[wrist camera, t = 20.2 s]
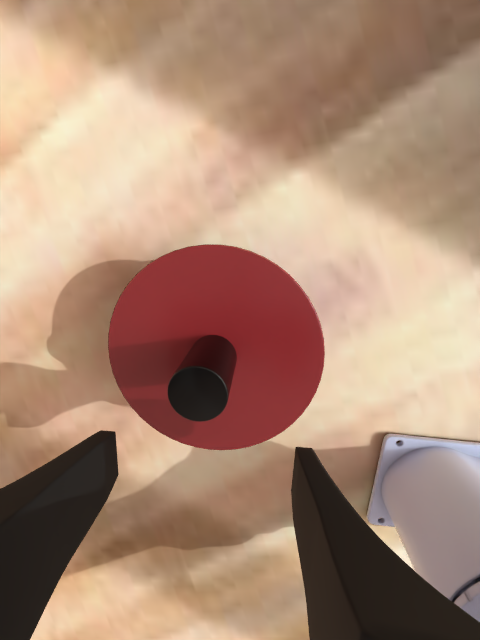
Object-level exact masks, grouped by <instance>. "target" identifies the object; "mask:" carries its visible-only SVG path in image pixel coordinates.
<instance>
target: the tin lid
mask: <svg viewBox="0 0 480 640" xmlns="http://www.w3.org/2000/svg"><path fill="white" fill-rule="evenodd" d="M108 349H109V357H110V363H111V367H112V371H113V374H114V377H115V379H116V382H117V384H118V386H119V388H120V390H121V392H122V394H123V396H124V397H125V399H126V400H127V401H128V403H129V404H130V406H131V407H132V408H133V409H134V410H135V412H136V413H137V414H138V415H139V416H140V417H141V418H142V419H143V420H145V421H146V422H147V423H148V424H149V425H150V426H152V427H153V428H155V429H156V430H157V431H159V432H160V433H162V434H164V435H166V436H168V437H169V438H171V439H173V440H176V441H178V442H181V443H183V444H187V445H190V446H194V447H198V448H204V449H210V450H232V449H240V448H245V447H250V446H253V445H256V444H259V443H262V442H264V441H266V440H269V439H271V438H273V437H274V436H276V435H278V434H279V433H281V432H283V431H284V430H285V429H287V428H288V427H289V426H290V425H292V424H293V423H294V422H295V421H296V420H297V419H298V418H299V417H300V416H301V415H302V413H303V412H304V411H305V409H306V408H307V407H308V405H309V404H310V402H311V400H312V398H313V397H314V395H315V393H316V391H317V388H318V385H319V383H320V380H321V376H322V371H323V367H324V355H325V351H324V338H323V333H322V328H321V324H320V321H319V319H318V316H317V313H316V311H315V309H314V307H313V305H312V303H311V301H310V299H309V298H308V296H307V295H306V294H305V292H304V291H303V289H302V288H301V287H300V285H299V284H298V283H297V282H296V281H295V280H294V279H293V278H292V277H291V276H290V275H289V274H288V273H287V272H286V271H284V270H283V269H282V268H281V267H279V266H278V265H277V264H275V263H273V262H272V261H270V260H268V259H267V258H265V257H263V256H261V255H258V254H256V253H254V252H252V251H249V250H245V249H242V248H238V247H233V246H226V245H198V246H191V247H186V248H183V249H179V250H175V251H173V252H170V253H168V254H166V255H163V256H161V257H159V258H158V259H156V260H155V261H153V262H151V263H150V264H148V265H147V266H146V267H145V268H143V269H142V270H141V271H140V272H139V273H137V275H136V276H135V277H134V278H133V279H132V280H131V281H130V282H129V283H128V285H127V286H126V288H125V289H124V291H123V292H122V294H121V295H120V298H119V300H118V302H117V304H116V306H115V308H114V312H113V315H112V318H111V322H110V328H109V339H108Z"/></svg>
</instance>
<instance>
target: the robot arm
mask: <svg viewBox="0 0 480 640" xmlns="http://www.w3.org/2000/svg"><path fill="white" fill-rule="evenodd" d="M398 440H401V441H400V442H399V443H396V441H398ZM117 477H118V462H117V448H116V435H115V432H112V431H99V432H97V433H95V434H94V435H92V436H90V437H89V438H87V439H85V440H84V441H82V442H81V443H79V444H78V445H76V446H74V447H73V448H71V449H70V450H68V451H66V452H65V453H63V454H62V455H60V456H58V457H57V458H55V459H53V460H52V461H50V462H48V463H47V464H45V465H43V466H41V467H40V468H38V469H36V470H35V471H33V472H31V473H29V474H28V475H26V476H24V477H22V478H21V479H19V480H17V481H15V482H13V483H11V484H9V485H7V486H5V487H3V488H1V489H0V640H30V638H31V636H32V634H33V632H34V630H35V628H36V626H37V624H38V622H39V620H40V618H41V616H42V613H43V611H44V609H45V607H46V605H47V603H48V601H49V599H50V597H51V595H52V593H53V591H54V589H55V587H56V585H57V583H58V581H59V579H60V578H61V576H62V574H63V572H64V570H65V568H66V567H67V565H68V563H69V561H70V560H71V558H72V556H73V555H74V553H75V552H76V550H77V548H78V547H79V545H80V543H81V542H82V540H83V538H84V537H85V535H86V534H87V532H88V530H89V529H90V527H91V525H92V524H93V522H94V521H95V519H96V517H97V516H98V514H99V512H100V511H101V509H102V507H103V506H104V504H105V502H106V501H107V499H108V496H109V494H110V492H111V490H112V488H113V486H114V483H115V481H116V479H117ZM291 494H292V510H293V521H294V528H295V534H296V540H297V546H298V552H299V558H300V563H301V569H302V575H303V581H304V587H305V595H306V603H307V614H308V625H309V637H310V640H480V443H478V442H468V441H458V440H448V439H439V438H429V437H419V436H409V435H400V434H387V435H386V436H385V437H384V439H383V443H382V448H381V452H380V457H379V462H378V466H377V471H376V475H375V480H374V484H373V489H372V494H371V498H370V503H369V507H368V512H367V519H368V521H369V523H371V524H375V525H383V526H392V527H395V528H396V530H397V532H398V535H399V537H400V539H401V541H402V543H403V546H404V548H405V550H406V552H407V554H408V557H409V559H410V561H411V563H412V565H413V567H414V570H415V571H414V570H413V569H412V568H411V567H409V566H408V565H407V564H406V563H405V562H404V561H403V560H402V559H401V558H400V557H399V556H398V555H397V554H395V553H394V552H393V551H392V550H391V549H390V548H389V547H388V546H387V545H386V544H385V543H384V542H383V541H382V540H381V539H380V538H379V537H378V536H377V535H376V534H375V533H374V531H373V530H372V529H371V528H370V527H369V526H368V525H367V524H366V523H365V521H364V520H363V519H362V518H361V517H360V516H359V514H358V513H357V512H356V511H355V509H354V508H353V507H352V506H351V504H350V503H349V502H348V501H347V499H346V498H345V497H344V495H343V494H342V493H341V491H340V490H339V488H338V487H337V486H336V484H335V483H334V482H333V480H332V479H331V477H330V476H329V474H328V473H327V471H326V470H325V468H324V466H323V465H322V463H321V462H320V460H319V458H318V457H317V455H316V453H315V452H314V450H313V449H312V448H302V447H296V449H295V459H294V469H293V479H292V489H291ZM379 518H381V519H379Z"/></svg>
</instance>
